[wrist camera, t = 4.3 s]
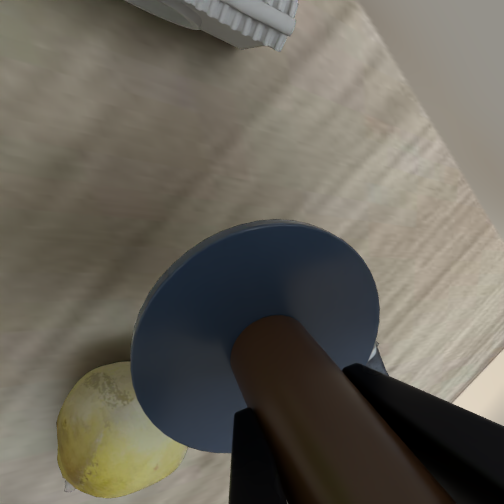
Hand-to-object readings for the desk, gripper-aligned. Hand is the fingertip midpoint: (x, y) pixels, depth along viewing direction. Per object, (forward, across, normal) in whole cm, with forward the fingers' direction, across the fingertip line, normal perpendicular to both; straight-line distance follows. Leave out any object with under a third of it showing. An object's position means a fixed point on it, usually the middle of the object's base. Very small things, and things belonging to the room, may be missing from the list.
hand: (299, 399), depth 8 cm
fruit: (+11, +7, +7) cm, 15 cm away
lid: (+2, 0, 0) cm, 2 cm away
